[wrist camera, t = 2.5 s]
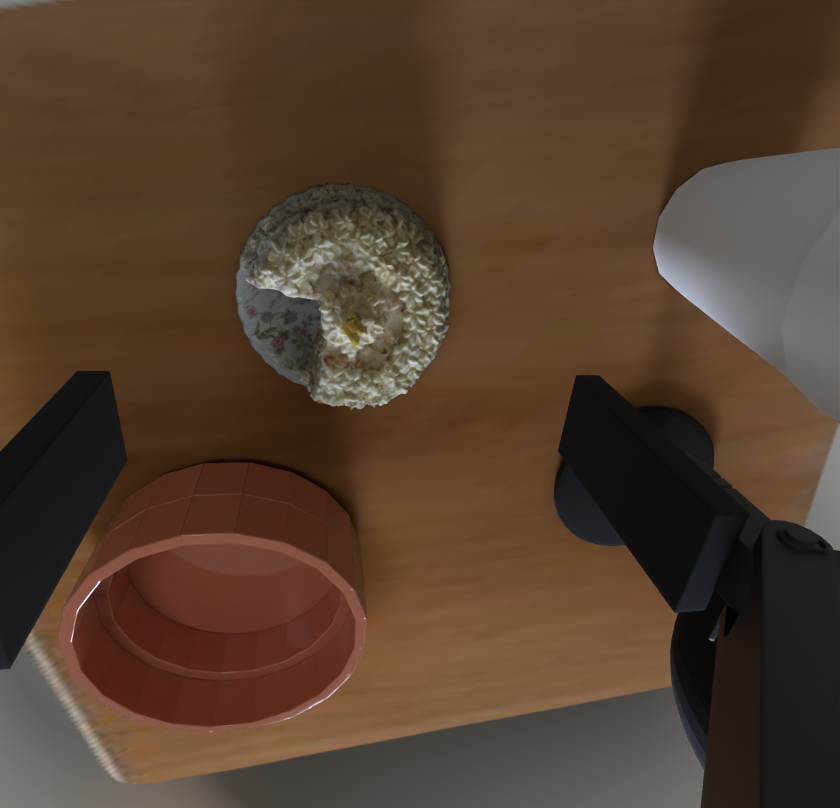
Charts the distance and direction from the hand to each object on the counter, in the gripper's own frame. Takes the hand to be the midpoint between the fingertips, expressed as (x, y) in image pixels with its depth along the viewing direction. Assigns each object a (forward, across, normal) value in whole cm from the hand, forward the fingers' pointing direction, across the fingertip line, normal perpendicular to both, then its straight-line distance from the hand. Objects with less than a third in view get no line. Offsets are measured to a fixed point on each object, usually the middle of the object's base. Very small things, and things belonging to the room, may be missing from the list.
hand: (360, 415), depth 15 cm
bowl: (+11, -6, -16) cm, 20 cm away
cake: (+11, 0, 0) cm, 11 cm away
